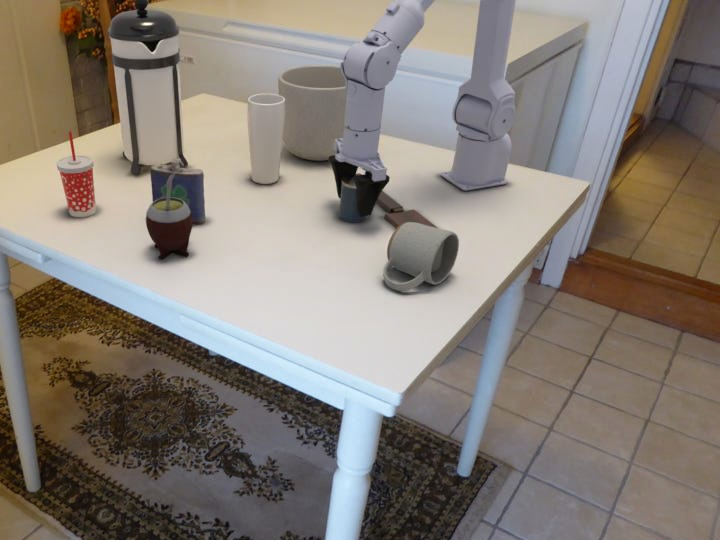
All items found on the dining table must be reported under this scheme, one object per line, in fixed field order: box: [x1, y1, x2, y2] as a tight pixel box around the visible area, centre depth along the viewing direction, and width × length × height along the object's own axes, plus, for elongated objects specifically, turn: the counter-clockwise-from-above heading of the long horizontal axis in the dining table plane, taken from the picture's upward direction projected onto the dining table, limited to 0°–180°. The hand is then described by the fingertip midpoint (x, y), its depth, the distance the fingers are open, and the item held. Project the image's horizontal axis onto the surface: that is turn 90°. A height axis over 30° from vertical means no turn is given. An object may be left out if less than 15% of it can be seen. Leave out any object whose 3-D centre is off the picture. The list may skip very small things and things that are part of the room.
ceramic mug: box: [382, 222, 460, 292], centre depth 98 cm, size 11×8×8 cm
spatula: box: [356, 172, 438, 229], centre depth 120 cm, size 6×26×1 cm, turn 19°
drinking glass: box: [246, 93, 285, 185], centre depth 125 cm, size 7×7×15 cm
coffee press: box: [107, 0, 189, 176], centre depth 129 cm, size 17×16×30 cm
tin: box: [338, 175, 368, 223], centre depth 115 cm, size 5×5×6 cm
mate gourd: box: [145, 173, 194, 261], centre depth 102 cm, size 8×8×15 cm
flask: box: [149, 158, 206, 225], centre depth 113 cm, size 9×3×11 cm, turn 74°
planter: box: [277, 64, 347, 162], centre depth 136 cm, size 17×17×15 cm
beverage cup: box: [55, 130, 97, 218], centre depth 115 cm, size 6×6×14 cm
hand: (354, 205), depth 116 cm, fingers open, 7 cm apart
